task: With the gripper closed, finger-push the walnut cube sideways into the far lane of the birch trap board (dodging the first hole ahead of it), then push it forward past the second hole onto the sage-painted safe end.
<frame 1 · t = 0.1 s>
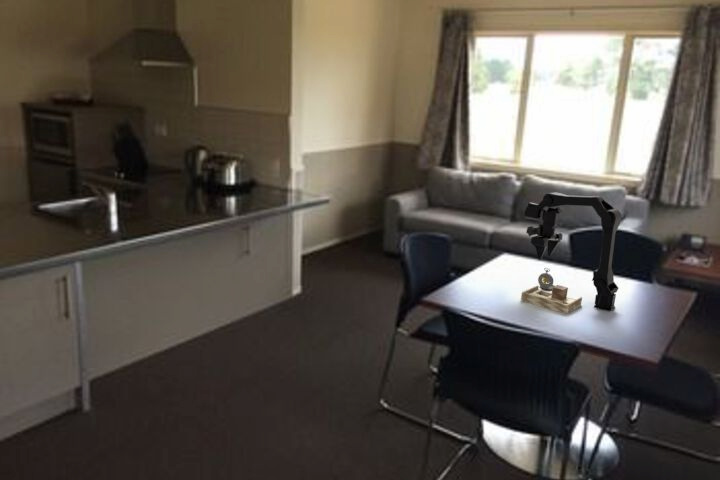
hand: (544, 257, 260), 15 cm above the table, fingers open, 9 cm apart
pocket watch: (546, 289, 266), on the table
trap box: (550, 303, 247), on the table
block: (558, 297, 248), point 2 cm above the table, touching trap box
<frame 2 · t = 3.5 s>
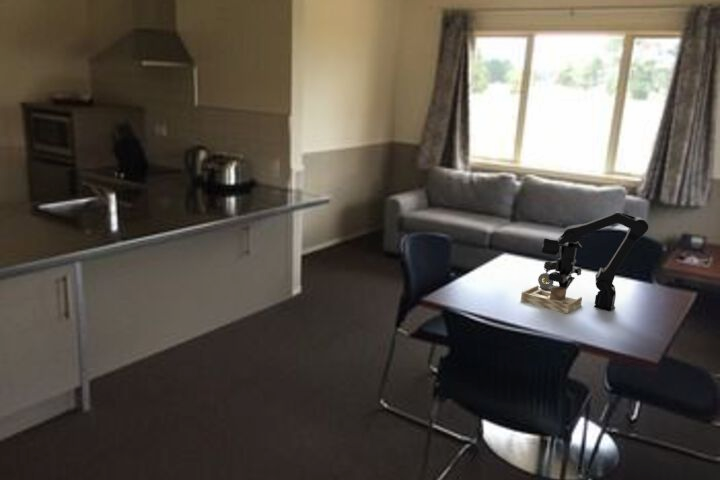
hand: (562, 293, 250), 3 cm above the table, fingers closed
block: (557, 298, 247), point 2 cm above the table, touching gripper
everything else where it was.
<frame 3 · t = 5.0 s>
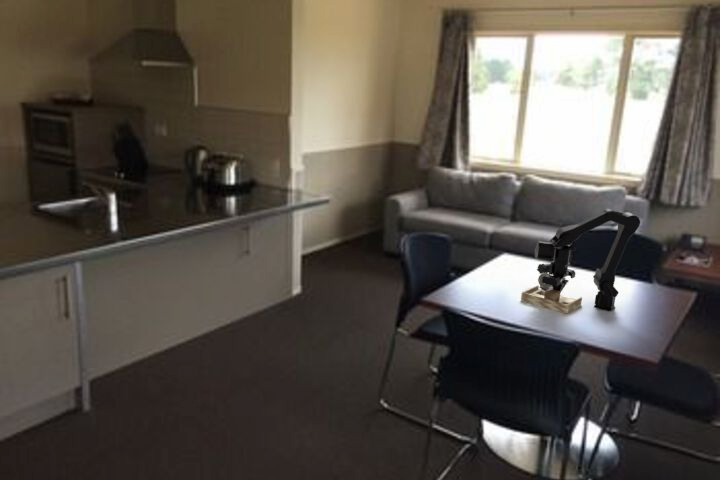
hand: (556, 296, 246), 3 cm above the table, fingers closed
block: (551, 301, 243), point 2 cm above the table, touching gripper, trap box
everything else where it was.
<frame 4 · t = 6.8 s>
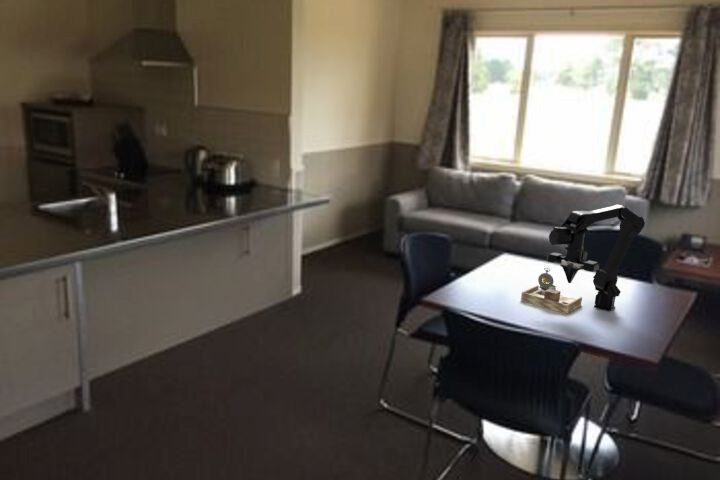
hand: (569, 282, 237), 11 cm above the table, fingers closed
block: (551, 301, 243), point 2 cm above the table, touching trap box
everything else where it was.
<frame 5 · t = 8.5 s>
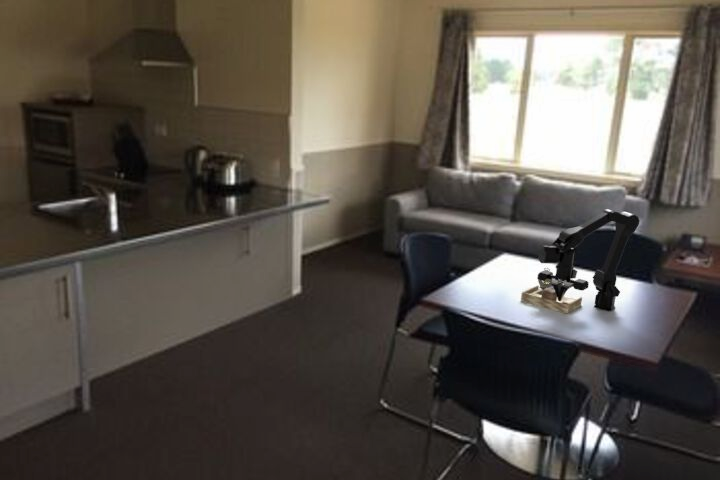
hand: (559, 300, 241), 3 cm above the table, fingers closed
block: (548, 300, 244), point 2 cm above the table, touching gripper
everything else where it was.
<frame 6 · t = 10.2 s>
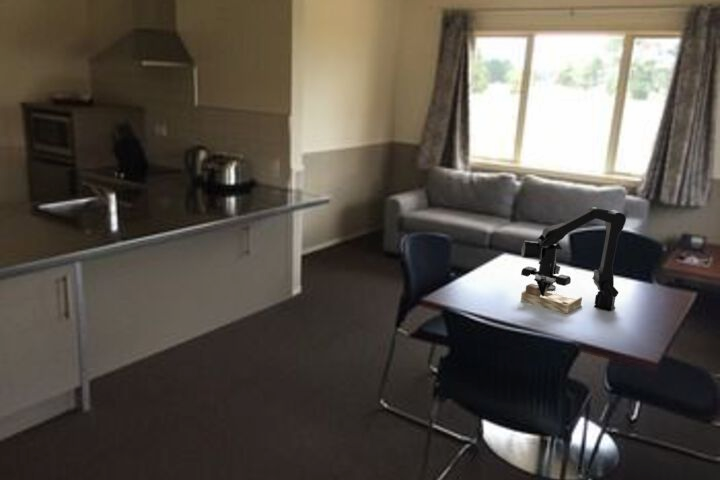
hand: (543, 296, 246), 3 cm above the table, fingers closed
block: (532, 296, 248), point 2 cm above the table, touching gripper, trap box
everything else where it was.
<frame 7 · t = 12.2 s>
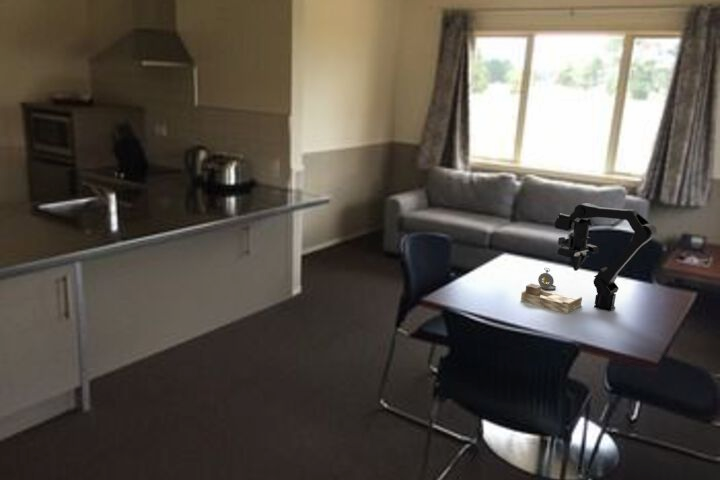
hand: (575, 270, 252), 12 cm above the table, fingers closed
block: (532, 296, 248), point 2 cm above the table, touching trap box
everything else where it was.
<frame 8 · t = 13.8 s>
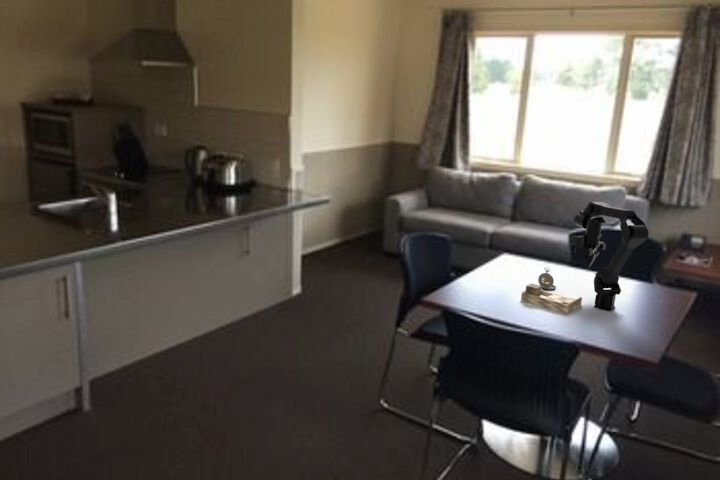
hand: (587, 267, 256), 12 cm above the table, fingers closed
nothing on the table moved.
at the end: block 0.7 cm from the target spot, point 2.0 cm above the table; block tilted 0° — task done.
